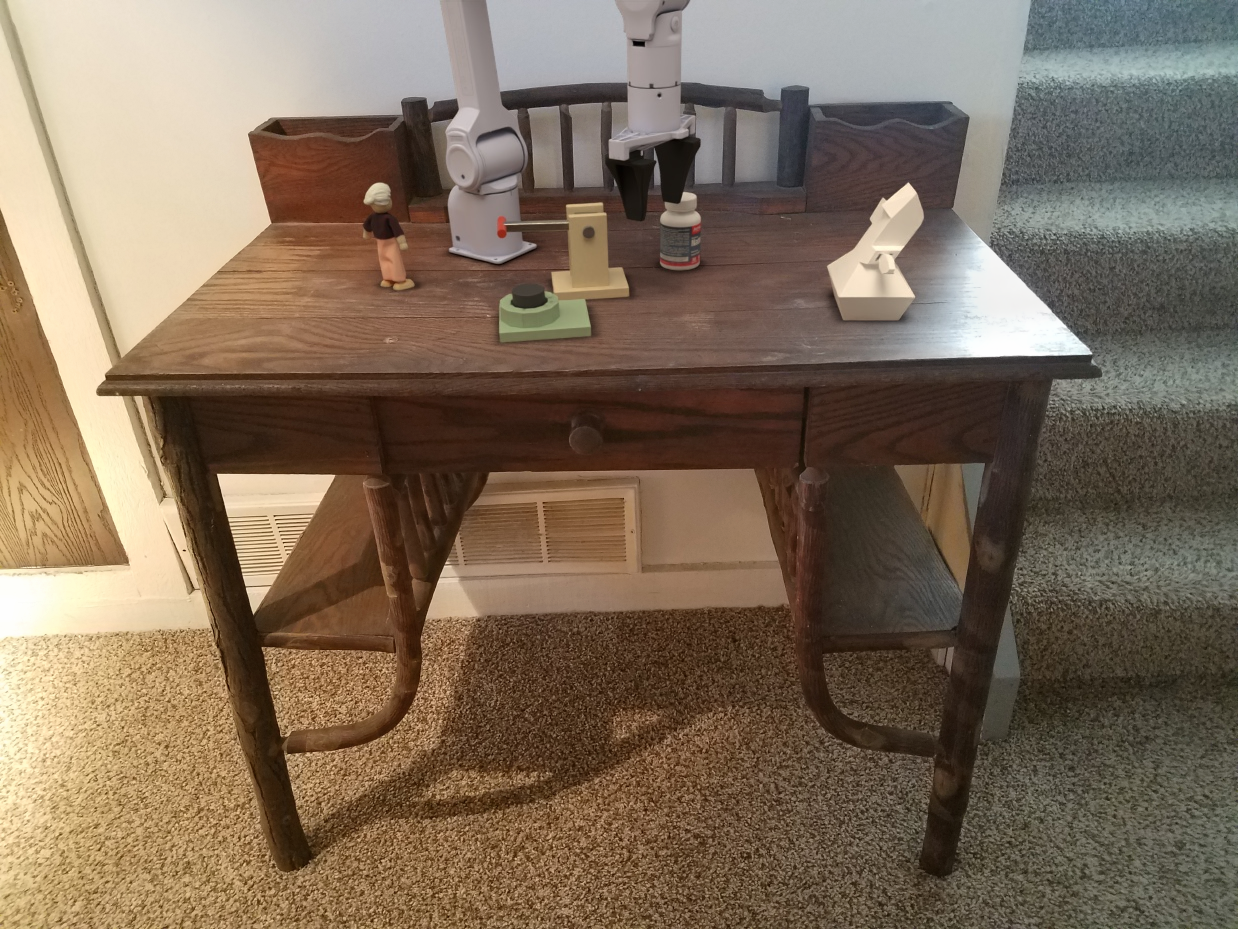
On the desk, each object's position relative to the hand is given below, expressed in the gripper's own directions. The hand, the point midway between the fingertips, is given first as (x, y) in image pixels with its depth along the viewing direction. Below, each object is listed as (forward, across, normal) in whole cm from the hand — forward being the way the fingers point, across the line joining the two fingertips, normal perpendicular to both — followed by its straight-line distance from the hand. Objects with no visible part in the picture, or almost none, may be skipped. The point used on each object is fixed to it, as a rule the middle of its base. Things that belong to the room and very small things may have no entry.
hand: (654, 210), depth 100 cm
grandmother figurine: (+10, -15, +30) cm, 35 cm away
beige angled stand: (+10, +9, -24) cm, 27 cm away
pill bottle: (+10, +10, +2) cm, 14 cm away
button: (+7, -15, +7) cm, 18 cm away
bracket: (+10, -3, +8) cm, 13 cm away
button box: (+10, -14, +5) cm, 18 cm away
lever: (+3, -6, +11) cm, 13 cm away
